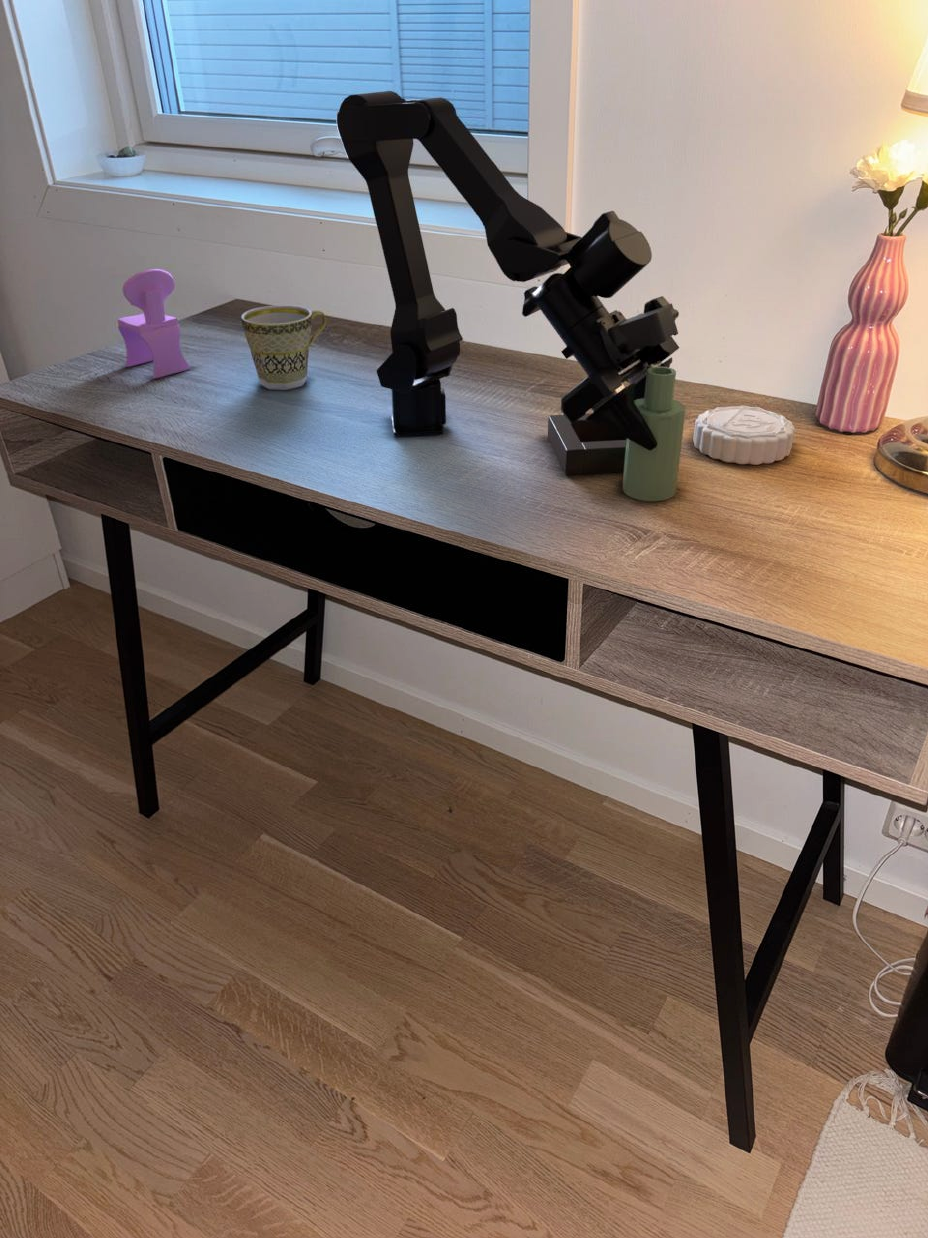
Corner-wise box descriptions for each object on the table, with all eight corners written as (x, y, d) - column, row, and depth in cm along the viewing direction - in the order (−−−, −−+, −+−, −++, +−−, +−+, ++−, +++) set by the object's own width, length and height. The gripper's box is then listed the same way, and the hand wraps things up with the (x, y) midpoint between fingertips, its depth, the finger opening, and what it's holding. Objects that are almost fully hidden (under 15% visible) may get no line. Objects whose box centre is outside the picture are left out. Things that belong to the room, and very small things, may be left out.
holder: (565, 475, 116) (566, 450, 114) (547, 438, 125) (548, 415, 123) (658, 470, 117) (661, 445, 115) (634, 434, 126) (636, 410, 125)
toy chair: (166, 355, 156) (148, 257, 148) (196, 367, 150) (180, 266, 142) (118, 367, 151) (98, 266, 143) (148, 380, 146) (129, 276, 137)
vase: (630, 502, 109) (641, 381, 102) (617, 480, 114) (627, 363, 107) (682, 499, 110) (697, 378, 102) (666, 477, 115) (680, 360, 107)
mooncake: (774, 473, 116) (779, 445, 114) (678, 452, 121) (681, 425, 119) (802, 440, 124) (807, 413, 122) (712, 422, 130) (715, 396, 128)
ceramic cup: (270, 399, 138) (262, 328, 133) (237, 381, 145) (228, 313, 140) (347, 379, 145) (342, 311, 140) (312, 363, 152) (306, 297, 146)
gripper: (594, 296, 95) (687, 426, 96) (671, 258, 108) (753, 374, 109) (522, 362, 103) (609, 482, 103) (602, 320, 116) (678, 426, 117)
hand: (666, 438), depth 108 cm, fingers closed on vase, 6 cm apart
